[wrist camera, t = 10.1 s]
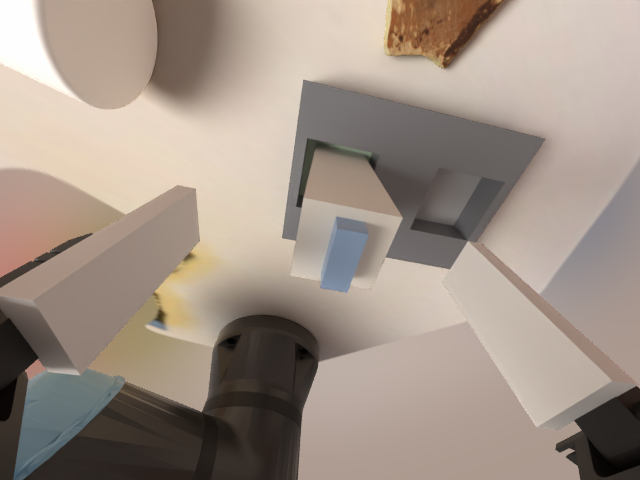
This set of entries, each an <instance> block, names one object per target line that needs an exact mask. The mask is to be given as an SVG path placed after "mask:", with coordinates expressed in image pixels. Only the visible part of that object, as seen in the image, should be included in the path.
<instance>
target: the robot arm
mask: <svg viewBox="0 0 640 480" xmlns="http://www.w3.org/2000/svg"><path fill="white" fill-rule="evenodd" d="M199 241H200V236H199V224H198V212H197V200H196V189H194V188H189V187H184V186H179V185H177V186H176V187H174V188H172V189H170V190H169V191H167V192H165V193H163V194H162V195H160V196H158V197H157V198H155V199H153V200H151V201H150V202H148V203H146V204H144V205H143V206H141V207H139V208H138V209H136V210H134V211H132V212H131V213H129V214H127V215H125V216H124V217H122V218H121V219H118V220H117V221H115V222H113V223H112V224H110V225H108V226H106V227H105V228H103V229H101V230H99V231H98V232H96V233H94V234H92V233H90V234H87V235H84V236H81V237H77V238H74V239H71V240H69V241H67V242H65V243H63V244H61V245H59V246H57V247H56V248H54V249H52V250H50V253H45V254H43V255H41V256H39V257H37V258H35V260H34V262H28V263H26V264H25V265H23V266H21V267H19V268H17V269H15V270H14V271H12V272H10V273H8V274H6V275H4V276H3V277H1V278H0V480H298V466H299V465H298V464H299V451H300V436H301V421H302V412H303V407H304V404H305V402H306V399H307V397H308V394H309V391H310V388H311V386H312V383H313V380H314V377H315V374H316V371H317V368H318V359H319V347H318V344H317V342H316V340H315V338H314V337H313V336H312V335H311V334H310V333H309V332H308V331H307V330H306V329H304V328H303V327H301V326H300V325H298V324H296V323H294V322H291V321H288V320H285V319H282V318H278V317H272V316H250V317H244V318H240V319H237V320H235V321H233V322H231V323H229V324H228V325H226V326H225V327H224V328H223V329H222V331H221V332H220V335H219V337H218V339H217V341H216V343H215V346H214V349H213V354H212V363H211V373H210V383H209V392H208V398H207V401H206V403H205V406H204V408H203V411H202V412H200V411H198V410H195V409H193V408H190V407H188V406H185V405H183V404H180V403H178V402H175V401H173V400H170V399H168V398H165V397H163V396H160V395H158V394H155V393H153V392H150V391H148V390H145V389H143V388H140V387H138V386H135V385H133V384H130V383H128V382H125V378H123V377H121V376H113V377H112V376H109V375H106V374H103V373H100V372H97V371H94V370H91V369H88V367H89V365H90V364H91V363H92V362H93V361H94V360H95V358H96V357H97V356H98V355H99V354H100V353H101V352H102V350H104V348H105V347H106V346H107V345H108V344H109V343H110V342H111V341H112V339H113V338H114V337H115V336H116V335H117V334H118V333H119V331H120V330H121V329H122V328H123V327H124V326H125V325H126V324H127V322H128V321H129V320H130V319H131V318H132V317H133V316H134V314H135V313H136V312H137V311H138V310H139V309H140V308H141V307H142V305H143V304H144V303H145V302H146V301H147V300H148V299H149V298H150V296H151V295H152V294H153V293H154V292H155V291H156V290H157V289H158V287H159V286H160V285H161V284H162V283H163V282H164V281H165V280H166V278H167V277H168V276H169V275H170V274H171V273H172V272H173V270H174V269H175V268H176V267H177V266H178V265H179V264H180V263H181V261H182V260H183V259H184V258H185V257H186V256H187V255H188V254H189V252H190V251H191V250H192V249H193V248H194V247H195V246H196V244H197V243H198V242H199ZM442 283H443V285H444V286H445V288H446V289H447V291H448V292H449V294H450V295H451V297H452V299H453V300H454V302H455V303H456V305H457V306H458V308H459V309H460V311H461V312H462V314H463V315H464V317H465V318H466V320H467V321H468V323H469V325H470V326H471V328H472V329H473V330H474V332H475V334H476V335H477V337H478V338H479V340H480V341H481V343H482V344H483V346H484V347H485V349H486V351H487V352H488V354H489V355H490V357H491V358H492V360H493V361H494V363H495V364H496V366H497V367H498V369H499V370H500V372H501V374H502V375H503V376H504V378H505V380H506V381H507V383H508V384H509V386H510V387H511V389H512V390H513V392H514V393H515V395H516V396H517V398H518V400H519V401H520V403H521V404H522V406H523V407H524V409H525V410H526V412H527V413H528V415H529V416H530V418H531V419H532V421H533V423H534V424H535V426H536V427H538V428H547V429H556V430H559V429H561V428H563V427H564V426H566V425H568V424H570V423H571V422H573V421H575V422H576V423H577V425H578V426H579V427H580V428H581V430H582V431H580V432H578V433H576V434H575V435H573V436H571V437H569V438H567V439H565V440H563V441H561V442H559V443H557V444H556V450H557V451H558V452H562V451H564V450H566V449H568V448H571V449H573V450H575V451H574V452H572V453H570V454H568V455H567V456H566V458H568V459H569V460H570V461H572V462H573V463H574V464H576V465H577V466H578V468H579V474H580V479H581V480H640V389H639V388H638V387H637V385H638V383H636V382H635V381H634V380H633V379H632V378H631V377H630V376H629V375H628V374H626V373H625V372H624V371H623V370H622V369H621V368H620V367H619V366H618V365H616V364H615V363H614V362H613V361H612V360H611V359H610V358H609V357H607V356H606V355H605V354H604V353H603V352H602V351H601V350H600V349H599V348H597V347H596V346H595V345H594V344H593V343H592V342H591V341H590V340H589V339H588V338H586V337H585V336H584V335H583V334H582V333H581V332H580V331H579V330H578V329H576V328H575V327H574V326H573V325H572V324H571V323H570V322H569V321H568V320H566V319H565V318H564V317H563V316H562V315H561V314H560V313H559V312H557V311H556V310H555V309H554V308H553V307H552V306H551V305H550V304H549V303H548V302H546V301H545V300H544V299H543V298H542V297H541V296H540V295H539V294H538V293H536V292H535V291H534V290H533V289H532V288H531V287H530V286H529V285H528V284H526V283H525V282H524V281H523V280H522V279H521V278H520V277H519V276H518V275H516V274H515V273H514V272H513V271H512V270H511V269H510V268H509V267H508V266H506V265H505V264H504V263H503V262H502V261H501V260H500V259H499V258H497V257H496V256H495V255H494V254H493V253H492V252H491V251H490V250H489V249H487V248H486V247H485V246H484V245H483V244H481V243H476V242H471V241H468V242H467V244H466V245H465V247H464V248H463V250H462V251H461V253H460V255H459V256H458V258H457V259H456V261H455V262H454V264H453V266H452V267H451V269H450V270H449V272H448V273H447V275H446V277H445V278H444V280H443V281H442ZM37 359H39V361H40V362H41V363H42V365H43V366H44V367H45V369H46V371H43V372H41V373H40V374H38V375H36V376H35V377H33V378H32V379H30V380H29V381H28V377H27V373H26V372H25V370H26V369H27V368H28V367H29V366H30V365H31V364H32V363H34V362H35V361H36V360H37Z"/></svg>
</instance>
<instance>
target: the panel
mask: <svg viewBox="0 0 640 480" xmlns="http://www.w3.org/2000/svg"><path fill="white" fill-rule="evenodd" d="M544 141H545V139H544V138H540V137H536V136H532V135H528V134H524V133H520V132H515V131H511V130H507V129H503V128H499V127H495V126H491V125H487V124H483V123H479V122H475V121H470V120H466V119H462V118H458V117H454V116H450V115H446V114H442V113H438V112H434V111H430V110H425V109H421V108H417V107H413V106H409V105H405V104H401V103H397V102H393V101H389V100H384V99H380V98H376V97H372V96H368V95H364V94H360V93H356V92H352V91H348V90H344V89H339V88H335V87H331V86H327V85H323V84H319V83H315V82H311V81H307V80H303V87H302V94H301V101H300V109H299V116H298V124H297V131H296V139H295V146H294V153H293V161H292V168H291V176H290V183H289V191H288V198H287V205H286V213H285V220H284V228H283V235H282V238H284V239H290V240H295V241H296V238H297V232H298V226H299V221H300V215H301V209H302V203H303V198H304V193H305V189H306V185H307V181H308V177H309V172H310V168H311V164H312V160H313V156H314V151H315V147H316V143H317V144H321V145H326V146H330V147H335V148H339V149H344V150H348V151H353V152H357V153H362V154H364V156H365V158H366V159H367V161H368V162H369V164H370V166H371V167H372V169H373V171H374V172H375V174H376V175H377V177H378V179H379V180H380V182H381V183H382V185H383V187H384V188H385V190H386V191H387V193H388V195H389V196H390V198H391V199H392V201H393V203H394V204H395V206H396V208H397V209H398V211H399V212H400V214H401V216H402V217H403V219H402V221H401V223H400V225H399V228H398V230H397V232H396V234H395V237H394V239H393V241H392V243H391V246H390V248H389V250H388V252H387V255H386V257H387V258H393V259H398V260H403V261H409V262H414V263H420V264H425V265H430V266H436V267H441V268H447V269H451V267H452V266H453V264H454V262H455V261H456V259H457V258H458V256H459V255H460V253H461V251H462V250H463V248H464V247H465V245H466V244H467V242H468V241H471V242H476V241H477V240H478V238H479V237H480V235H481V234H482V232H483V231H484V229H485V228H486V226H487V225H488V223H489V222H490V220H491V219H492V218H493V216H494V215H495V213H496V212H497V210H498V209H499V207H500V206H501V204H502V203H503V201H504V200H505V198H506V197H507V195H508V194H509V192H510V191H511V189H512V188H513V186H514V185H515V184H516V182H517V181H518V179H519V178H520V176H521V175H522V173H523V172H524V170H525V169H526V167H527V166H528V164H529V163H530V161H531V160H532V158H533V157H534V155H535V154H536V152H537V151H538V150H539V148H540V147H541V145H542V144H543V142H544Z"/></svg>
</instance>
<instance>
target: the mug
mask: <svg viewBox="0 0 640 480" xmlns="http://www.w3.org/2000/svg"><path fill="white" fill-rule="evenodd" d="M156 55H157V23H156V17H155V12H154V7H153V3H152V0H0V63H1V64H3V65H5V66H7V67H9V68H11V69H13V70H15V71H17V72H20V73H22V74H24V75H26V76H28V77H30V78H32V79H34V80H37V81H39V82H41V83H43V84H45V85H47V86H49V87H51V88H54V89H56V90H58V91H60V92H62V93H64V94H66V95H68V96H70V97H73V98H75V99H77V100H79V101H81V102H83V103H85V104H87V105H90V106H92V107H96V108H100V109H117V108H121V107H124V106H126V105H128V104H130V103H131V102H133V101H134V100H135V99H136V98H138V96H139V95H140V94H141V93H142V92H143V90H144V89H145V87H146V86H147V84H148V82H149V80H150V78H151V75H152V72H153V69H154V65H155V61H156Z"/></svg>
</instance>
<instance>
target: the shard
mask: <svg viewBox="0 0 640 480" xmlns="http://www.w3.org/2000/svg"><path fill="white" fill-rule="evenodd" d="M503 1H504V0H388V4H387V12H386V24H385V27H386V29H385V35H384V47H385V54H386V55H388V56H399V55H424V56H426V57H427V58H428V59H429V60H431V61H433V62H434V63H435V64H436V65H438V66H439V67H441V68H445V67H446V66H447V65H448V64H449V63H450V61H451V60H452V58H454V57H455V56H456V55H457V53H458V52H459V50H460V49H461V48H462V47H463V46H465V45H466V44H467V42H468V41H469V40H470V39H471V38H472V37H473V35H474V34H475V32H476V31H477V30H478V29H479V27H480V26H481V25H482V24H483V23H484V22H486V21H487V20H488V18H489V17H490V16H491V15H492V14H493V12H494V11H495V10H496V9H497V7H498V6H499V5H500V4H501V3H502V2H503Z"/></svg>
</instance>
